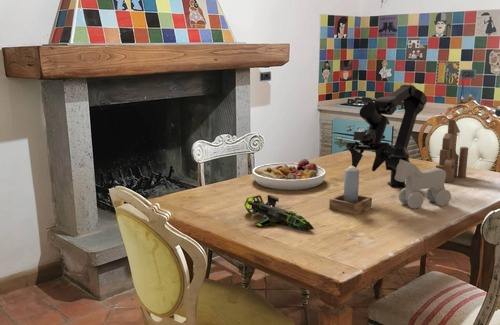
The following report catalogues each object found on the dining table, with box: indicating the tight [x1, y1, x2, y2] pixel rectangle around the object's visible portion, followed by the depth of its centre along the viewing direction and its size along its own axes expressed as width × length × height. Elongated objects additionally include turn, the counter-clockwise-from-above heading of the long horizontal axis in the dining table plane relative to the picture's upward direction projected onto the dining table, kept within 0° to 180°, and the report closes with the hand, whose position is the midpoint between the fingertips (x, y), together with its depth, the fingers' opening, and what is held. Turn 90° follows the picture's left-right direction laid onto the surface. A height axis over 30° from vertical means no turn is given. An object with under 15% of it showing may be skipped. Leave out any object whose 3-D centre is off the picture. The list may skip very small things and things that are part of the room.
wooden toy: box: [435, 118, 469, 184], centre depth 211 cm, size 16×7×25 cm, turn 133°
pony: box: [395, 159, 452, 210], centre depth 176 cm, size 20×10×17 cm, turn 105°
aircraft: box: [244, 194, 315, 232], centre depth 161 cm, size 17×28×6 cm, turn 45°
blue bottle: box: [343, 165, 360, 204], centre depth 173 cm, size 5×5×14 cm
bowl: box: [252, 158, 326, 191], centre depth 209 cm, size 30×30×8 cm
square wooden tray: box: [328, 192, 373, 216], centre depth 174 cm, size 10×10×4 cm
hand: (362, 170), depth 181 cm, fingers open, 9 cm apart
